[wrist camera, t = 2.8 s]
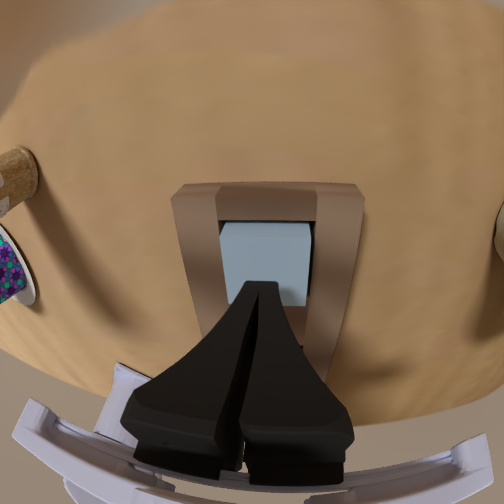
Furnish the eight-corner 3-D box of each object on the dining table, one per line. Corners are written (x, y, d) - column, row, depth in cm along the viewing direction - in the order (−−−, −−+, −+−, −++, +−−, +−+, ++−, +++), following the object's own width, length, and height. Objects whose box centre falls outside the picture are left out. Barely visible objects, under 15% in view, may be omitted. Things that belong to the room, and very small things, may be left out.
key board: (310, 408, 26) (310, 423, 25) (231, 404, 28) (228, 419, 26) (355, 184, 13) (365, 198, 11) (184, 184, 14) (170, 198, 12)
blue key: (303, 272, 16) (305, 306, 14) (237, 270, 17) (228, 303, 14) (306, 210, 14) (311, 238, 12) (231, 210, 14) (219, 237, 12)
